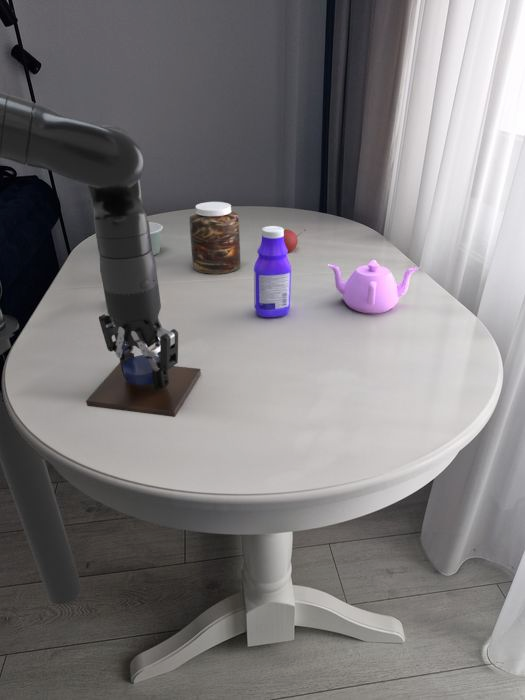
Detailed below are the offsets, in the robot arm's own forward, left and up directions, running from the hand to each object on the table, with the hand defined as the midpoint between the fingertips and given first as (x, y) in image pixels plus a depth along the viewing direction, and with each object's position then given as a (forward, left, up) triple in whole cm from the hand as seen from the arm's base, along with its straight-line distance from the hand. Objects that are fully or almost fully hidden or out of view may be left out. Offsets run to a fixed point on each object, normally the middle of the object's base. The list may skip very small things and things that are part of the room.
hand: (145, 381), depth 80 cm
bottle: (+14, +31, -2) cm, 34 cm away
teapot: (+33, +39, -2) cm, 51 cm away
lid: (0, 0, +3) cm, 3 cm away
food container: (-28, +62, -2) cm, 68 cm away
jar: (-5, +55, -2) cm, 55 cm away
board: (0, 0, -1) cm, 1 cm away
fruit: (+11, +71, -2) cm, 72 cm away
